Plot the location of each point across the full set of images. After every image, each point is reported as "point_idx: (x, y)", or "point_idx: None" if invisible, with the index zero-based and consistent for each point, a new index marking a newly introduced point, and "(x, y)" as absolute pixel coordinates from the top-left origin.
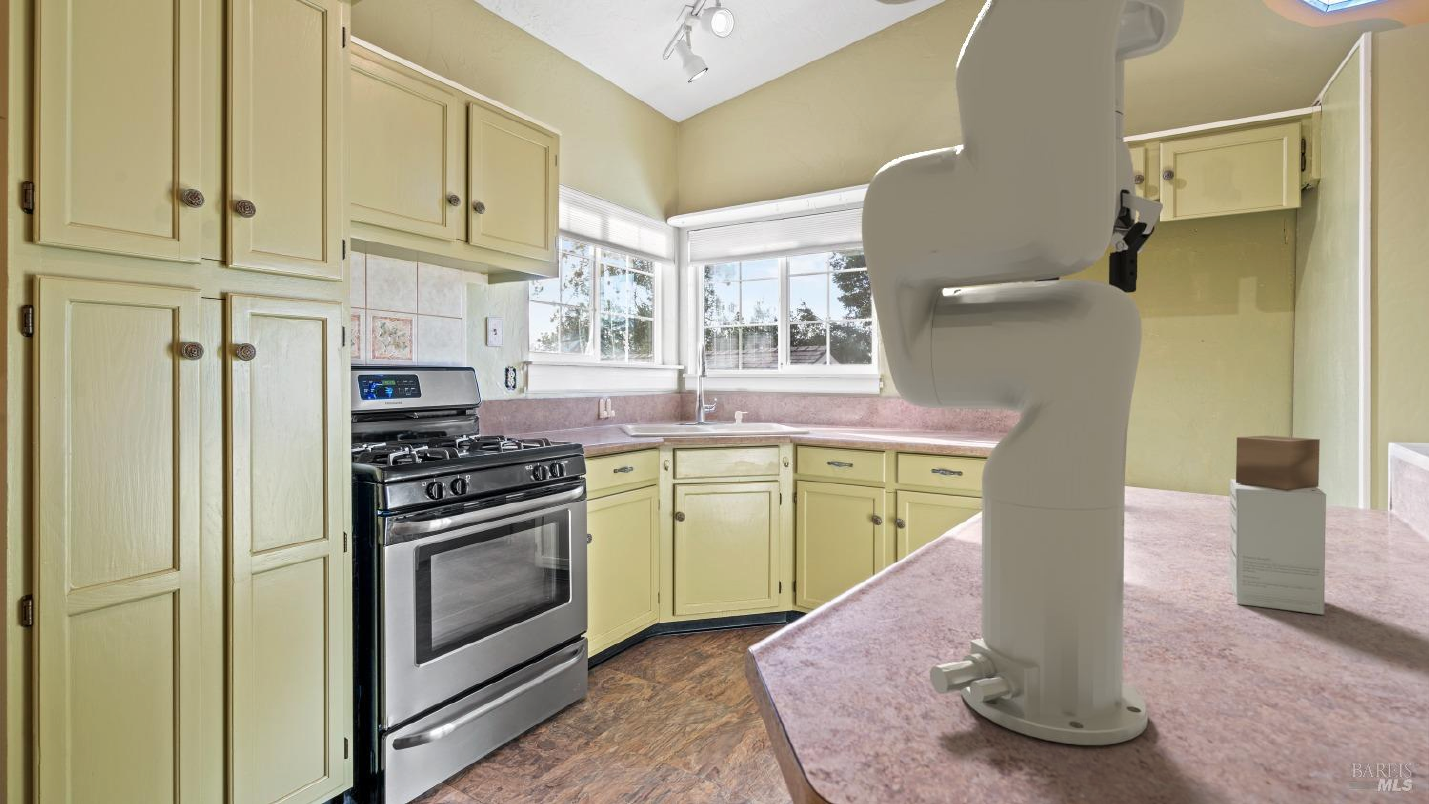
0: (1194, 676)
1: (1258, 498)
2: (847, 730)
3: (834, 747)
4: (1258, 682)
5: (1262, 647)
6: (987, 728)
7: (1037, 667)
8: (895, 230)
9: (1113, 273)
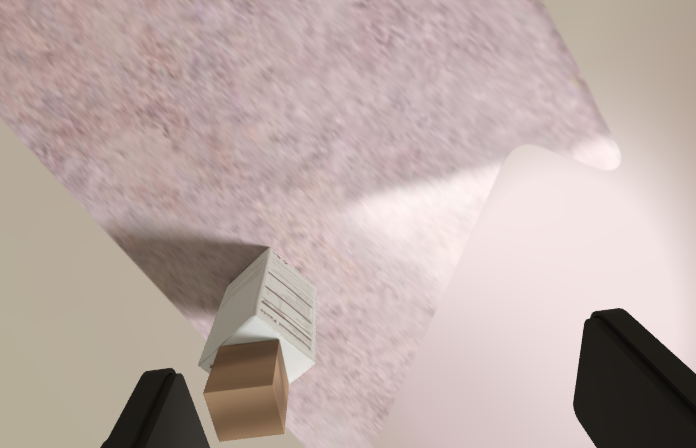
0: (108, 44)
1: (240, 321)
2: None
3: None
4: (93, 90)
5: (166, 168)
6: None
7: None
8: None
9: (112, 433)
